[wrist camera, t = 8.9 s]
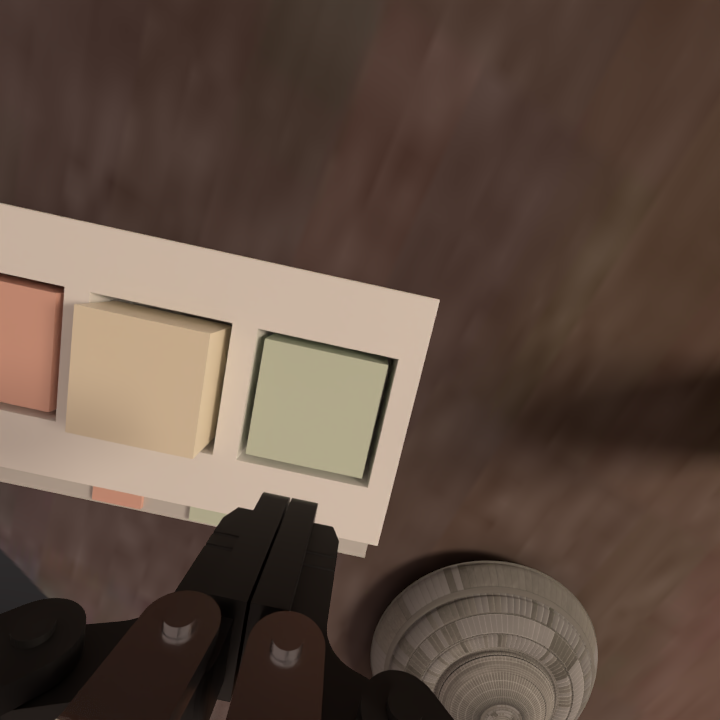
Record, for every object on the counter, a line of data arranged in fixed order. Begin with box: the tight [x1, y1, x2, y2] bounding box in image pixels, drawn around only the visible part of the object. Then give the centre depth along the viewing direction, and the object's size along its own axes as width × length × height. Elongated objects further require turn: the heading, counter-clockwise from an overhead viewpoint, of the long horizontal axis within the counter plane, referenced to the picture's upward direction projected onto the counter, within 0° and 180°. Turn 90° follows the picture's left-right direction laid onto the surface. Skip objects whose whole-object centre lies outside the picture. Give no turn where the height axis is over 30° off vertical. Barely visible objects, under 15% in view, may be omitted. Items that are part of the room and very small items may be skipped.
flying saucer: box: [371, 561, 598, 720], centre depth 25 cm, size 15×15×6 cm
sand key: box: [65, 301, 232, 459], centre depth 19 cm, size 6×6×3 cm
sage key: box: [245, 333, 388, 479], centre depth 21 cm, size 6×6×3 cm
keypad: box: [0, 203, 440, 558], centre depth 22 cm, size 25×16×5 cm, turn 78°
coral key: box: [0, 273, 64, 412], centre depth 21 cm, size 6×6×3 cm
